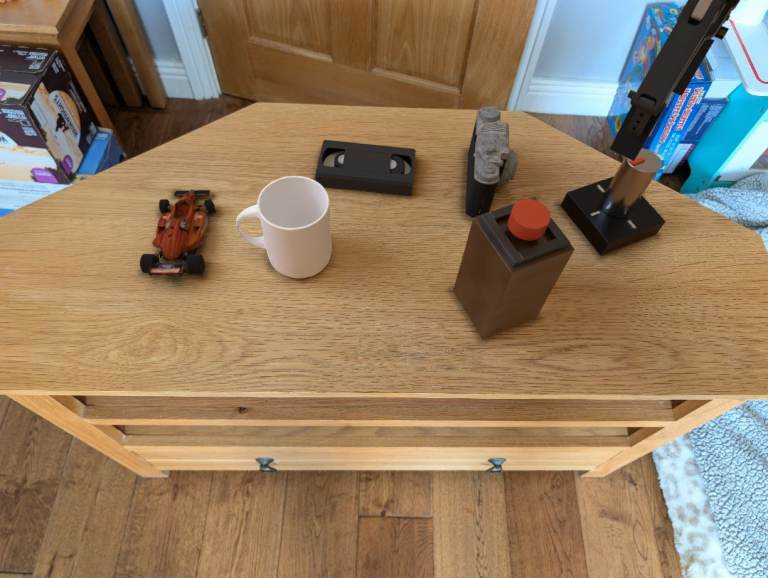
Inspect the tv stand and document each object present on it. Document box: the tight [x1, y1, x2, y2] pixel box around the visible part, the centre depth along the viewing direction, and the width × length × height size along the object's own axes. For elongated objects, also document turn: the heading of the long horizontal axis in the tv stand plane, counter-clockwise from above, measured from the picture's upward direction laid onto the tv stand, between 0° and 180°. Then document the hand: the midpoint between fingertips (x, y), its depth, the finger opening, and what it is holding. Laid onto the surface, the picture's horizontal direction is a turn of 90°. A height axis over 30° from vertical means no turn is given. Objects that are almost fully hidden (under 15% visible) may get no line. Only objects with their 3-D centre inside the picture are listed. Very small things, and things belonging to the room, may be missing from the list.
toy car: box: [139, 189, 217, 277], centre depth 75 cm, size 8×16×4 cm, turn 0°
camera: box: [464, 105, 519, 219], centre depth 80 cm, size 15×7×10 cm, turn 173°
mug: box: [235, 175, 333, 279], centre depth 71 cm, size 9×12×11 cm
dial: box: [601, 147, 662, 218], centre depth 75 cm, size 4×4×9 cm
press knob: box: [508, 198, 552, 240], centre depth 58 cm, size 4×4×2 cm
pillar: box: [452, 196, 575, 341], centre depth 66 cm, size 8×8×16 cm
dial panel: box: [560, 175, 667, 257], centre depth 80 cm, size 10×10×3 cm
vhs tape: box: [314, 139, 417, 197], centre depth 84 cm, size 14×8×2 cm, turn 85°
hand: (648, 119), depth 61 cm, fingers open, 13 cm apart
